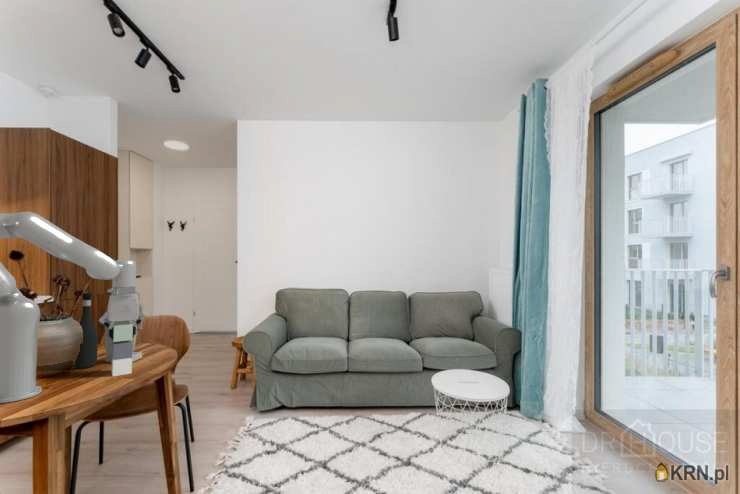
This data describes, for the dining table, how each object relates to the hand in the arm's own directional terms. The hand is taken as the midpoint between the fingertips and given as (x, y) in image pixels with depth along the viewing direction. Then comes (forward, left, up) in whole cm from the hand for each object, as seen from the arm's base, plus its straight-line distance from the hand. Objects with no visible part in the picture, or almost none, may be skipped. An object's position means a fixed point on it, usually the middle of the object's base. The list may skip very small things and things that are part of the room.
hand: (122, 337), depth 142 cm
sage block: (0, 0, -1) cm, 1 cm away
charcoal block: (0, 0, -8) cm, 8 cm away
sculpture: (+3, +19, -14) cm, 24 cm away
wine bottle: (-11, +18, -14) cm, 25 cm away
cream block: (0, 0, -14) cm, 14 cm away
